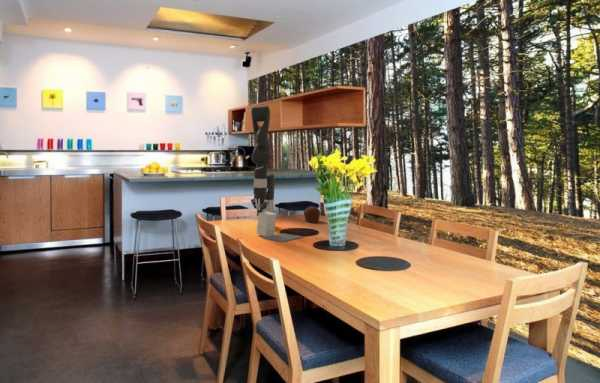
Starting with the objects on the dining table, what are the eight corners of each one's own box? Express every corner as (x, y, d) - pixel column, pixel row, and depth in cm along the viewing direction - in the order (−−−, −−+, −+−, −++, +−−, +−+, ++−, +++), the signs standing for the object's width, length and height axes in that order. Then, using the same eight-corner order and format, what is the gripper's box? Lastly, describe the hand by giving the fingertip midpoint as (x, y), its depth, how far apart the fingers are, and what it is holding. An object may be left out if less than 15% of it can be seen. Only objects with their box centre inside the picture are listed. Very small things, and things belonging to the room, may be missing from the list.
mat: (283, 234, 280) (283, 233, 280) (303, 237, 270) (303, 236, 270) (262, 238, 267) (262, 237, 267) (283, 242, 257) (282, 241, 257)
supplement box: (274, 235, 276) (276, 214, 274) (265, 237, 271) (267, 215, 268) (265, 232, 281) (267, 211, 278) (256, 233, 275) (258, 212, 273)
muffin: (302, 220, 332) (302, 205, 331) (318, 220, 333) (319, 205, 332) (304, 223, 320) (305, 208, 319) (321, 222, 321) (321, 207, 320)
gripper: (273, 187, 274) (272, 217, 276) (256, 185, 282) (256, 214, 284) (263, 187, 268) (263, 218, 270) (247, 185, 277) (246, 215, 279)
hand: (259, 216), depth 277 cm, fingers closed
